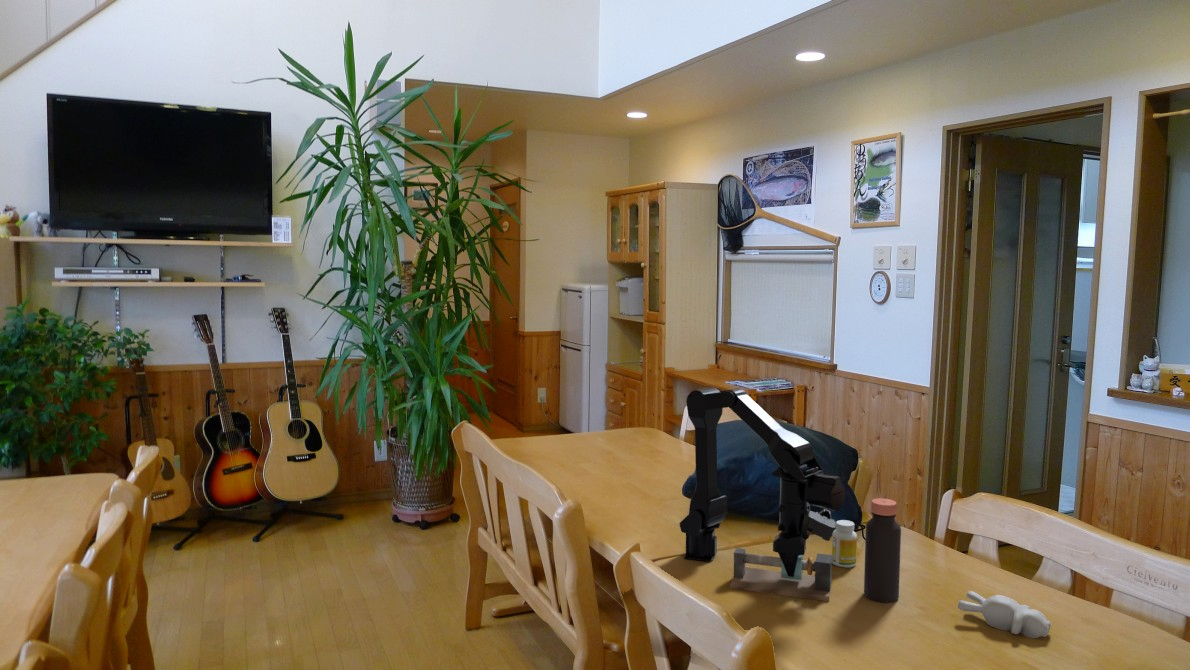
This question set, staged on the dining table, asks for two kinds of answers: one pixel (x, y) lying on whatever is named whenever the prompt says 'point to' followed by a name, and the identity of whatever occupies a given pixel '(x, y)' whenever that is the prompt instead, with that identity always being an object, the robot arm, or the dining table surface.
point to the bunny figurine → (1008, 615)
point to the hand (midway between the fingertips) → (792, 571)
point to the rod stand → (774, 584)
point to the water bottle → (882, 552)
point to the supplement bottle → (844, 544)
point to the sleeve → (798, 570)
